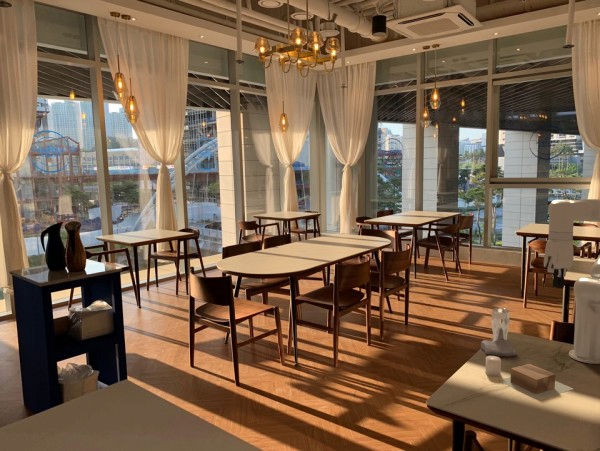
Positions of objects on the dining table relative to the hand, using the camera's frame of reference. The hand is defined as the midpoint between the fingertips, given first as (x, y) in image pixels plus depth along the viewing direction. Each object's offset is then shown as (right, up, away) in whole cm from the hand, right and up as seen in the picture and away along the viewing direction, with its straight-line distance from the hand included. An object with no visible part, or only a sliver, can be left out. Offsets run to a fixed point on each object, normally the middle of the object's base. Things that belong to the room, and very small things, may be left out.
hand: (558, 287), depth 168 cm
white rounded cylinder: (-23, -32, +1) cm, 39 cm away
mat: (-12, -32, -8) cm, 36 cm away
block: (-10, -29, -7) cm, 32 cm away
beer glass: (-8, -28, +29) cm, 42 cm away
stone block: (-12, -30, +22) cm, 39 cm away
